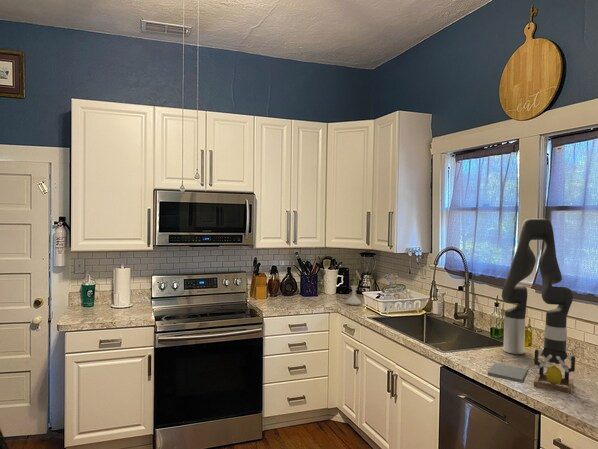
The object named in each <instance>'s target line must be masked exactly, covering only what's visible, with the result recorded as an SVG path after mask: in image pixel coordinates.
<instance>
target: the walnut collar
mask: <svg viewBox="0 0 598 449" xmlns="http://www.w3.org/2000/svg"><path fill="white" fill-rule="evenodd" d="M564 378H565V377H562V380H561V382H560V383H559V384H564V385H567V386H562V385H559V384H557V385H554V384H551V383H549V382H544V381H547V379H546V373H544V374H543V377H541V375H540V374H539V372H537V373H536V376H535V377H534V381H533V387H534V388H535V387H536V388H539V389H544V390H548V389H549V391H553V392H557V391H558V392H559V393H562V392H563V393H564V394H567V395H572V392H573V382H574V379H571V378H569V380H567V382H565V381H564ZM540 380H543V381H540Z"/></svg>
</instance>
